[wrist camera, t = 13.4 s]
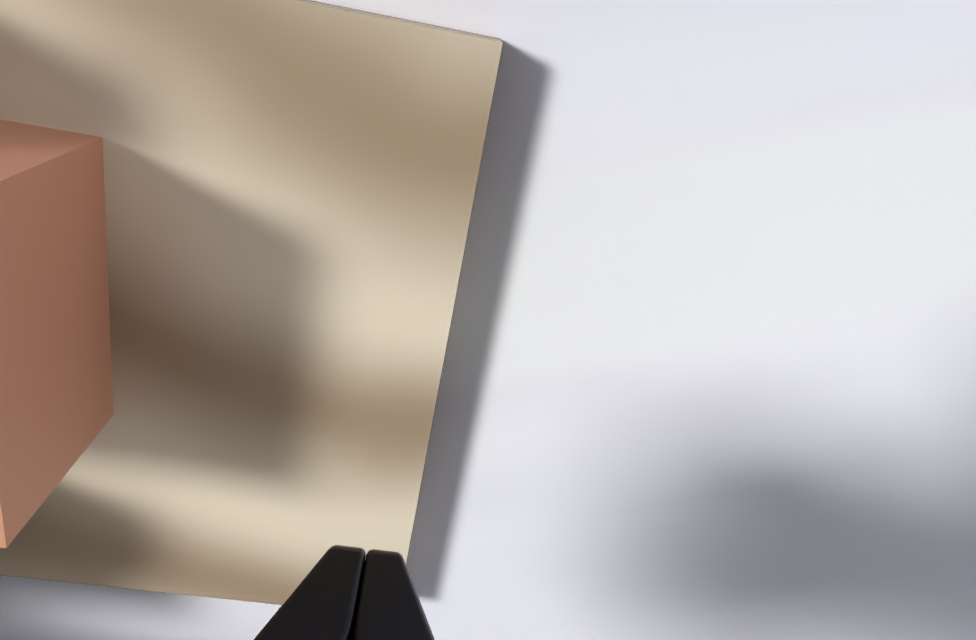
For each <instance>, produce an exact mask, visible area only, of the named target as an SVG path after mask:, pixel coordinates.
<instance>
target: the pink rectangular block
mask: <svg viewBox="0 0 976 640" xmlns="http://www.w3.org/2000/svg"><path fill="white" fill-rule="evenodd" d="M113 415H114V413H113V388H112V363H111V338H110V313H109V288H108V264H107V239H106V214H105V189H104V164H103V139H102V137H98V136H92V135H87V134H81V133H75V132H69V131H64V130H58V129H52V128H47V127H41V126H35V125H30V124H24V123H18V122H12V121H7V120H1V119H0V548H7V547H8V546H9V544H10V543H11V542H12V541H13V539H14V538H15V537H16V536H17V534H18V533H19V532H20V531H21V529H22V528H23V527H24V526H25V525H26V523H27V522H28V521H29V520H30V518H31V517H32V516H33V515H34V513H35V512H36V511H37V510H38V508H39V507H40V506H41V505H42V503H43V502H44V501H45V500H46V498H47V497H48V496H49V495H50V493H51V492H52V491H53V490H54V488H55V487H56V486H57V485H58V483H59V482H60V481H61V480H62V478H63V477H64V476H65V475H66V473H67V472H68V471H69V470H70V468H71V467H72V466H73V465H74V463H75V462H76V461H77V460H78V458H79V457H80V456H81V455H82V453H83V452H84V451H85V450H86V448H87V447H88V446H89V445H90V443H91V442H92V441H93V440H94V438H95V437H96V436H97V435H98V433H99V432H100V431H101V430H102V428H103V427H104V426H105V425H106V423H107V422H108V421H109V420H110V418H111V417H112V416H113Z"/></svg>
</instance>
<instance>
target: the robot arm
mask: <svg viewBox="0 0 976 640" xmlns="http://www.w3.org/2000/svg"><path fill="white" fill-rule="evenodd" d="M365 558H366V559H365ZM254 640H435V639H434V637H433V634H432V631H431V629H430V626H429V624H428V621H427V618H426V616H425V613H424V610H423V608H422V605H421V603H420V600H419V597H418V595H417V592H416V589H415V587H414V584H413V582H412V579H411V576H410V574H409V571H408V568H407V566H406V563H405V561H404V558H403V556H402V555H401V554H400V553H399V552H393V551H384V550H376V549H371V550H369V551H368V552H367V554H366V552H365V550H364V549H363V548H359V547H350V546H341V545H334V546H332V547H330V548H329V549H328V550H327V552H326V553H325V554H324V555H323V556H322V558H321V559H320V560H319V561H318V562H317V564H316V565H315V566H314V567H313V568H312V570H311V571H310V572H309V573H308V575H307V576H306V577H305V578H304V579H303V581H302V582H301V583H300V584H299V585H298V587H297V588H296V589H295V590H294V591H293V593H292V594H291V595H290V596H289V598H288V599H287V600H286V601H285V602H284V604H283V605H282V606H281V607H280V608H279V610H278V611H277V612H276V613H275V615H274V616H273V617H272V618H271V619H270V621H269V622H268V623H267V624H266V625H265V627H264V628H263V629H262V630H261V631H260V633H259V634H258V635H257V636H256V638H255V639H254Z"/></svg>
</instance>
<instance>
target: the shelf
mask: <svg viewBox="0 0 976 640" xmlns="http://www.w3.org/2000/svg"><path fill="white" fill-rule="evenodd" d="M502 44H503V42H502V41H501V40H500V39H499V38H494V37H489V36H484V35H479V34H474V33H469V32H464V31H460V30H455V29H450V28H445V27H440V26H435V25H430V24H425V23H420V22H415V21H410V20H405V19H400V18H395V17H390V16H385V15H381V14H376V13H371V12H366V11H361V10H356V9H351V8H346V7H341V6H336V5H331V4H326V3H321V2H316V1H311V0H0V119H1V120H7V121H12V122H18V123H24V124H30V125H35V126H41V127H47V128H52V129H58V130H64V131H69V132H75V133H81V134H87V135H92V136H98V137H102V139H103V164H104V189H105V214H106V239H107V264H108V288H109V313H110V338H111V363H112V388H113V413H114V415H113V416H112V417H111V418H110V420H109V421H108V422H107V423H106V425H105V426H104V427H103V428H102V430H101V431H100V432H99V433H98V435H97V436H96V437H95V438H94V440H93V441H92V442H91V443H90V445H89V446H88V447H87V448H86V450H85V451H84V452H83V453H82V455H81V456H80V457H79V458H78V460H77V461H76V462H75V463H74V465H73V466H72V467H71V468H70V470H69V471H68V472H67V473H66V475H65V476H64V477H63V478H62V480H61V481H60V482H59V483H58V485H57V486H56V487H55V488H54V490H53V491H52V492H51V493H50V495H49V496H48V497H47V498H46V500H45V501H44V502H43V503H42V505H41V506H40V507H39V508H38V510H37V511H36V512H35V513H34V515H33V516H32V517H31V518H30V520H29V521H28V522H27V523H26V525H25V526H24V527H23V528H22V529H21V531H20V532H19V533H18V534H17V536H16V537H15V538H14V539H13V541H12V542H11V543H10V544H9V546H8V547H7V548H0V575H5V576H14V577H23V578H33V579H42V580H52V581H61V582H71V583H80V584H90V585H99V586H108V587H118V588H127V589H137V590H146V591H156V592H165V593H175V594H184V595H193V596H203V597H212V598H222V599H231V600H241V601H250V602H260V603H269V604H279V605H283V604H284V602H285V601H286V600H287V599H288V598H289V596H290V595H291V594H292V593H293V591H294V590H295V589H296V588H297V587H298V585H299V584H300V583H301V582H302V581H303V579H304V578H305V577H306V576H307V575H308V573H309V572H310V571H311V570H312V568H313V567H314V566H315V565H316V564H317V562H318V561H319V560H320V559H321V558H322V556H323V555H324V554H325V553H326V552H327V550H328V549H329V548H330V547H332V546H334V545H341V546H350V547H359V548H363V549H364V550H365V552H366V554H367V552H368V551H369V550H371V549H376V550H384V551H393V552H399V553H400V554H401V555H402V556H403V558H404V561H405V563H406V561H407V556H408V550H409V545H410V540H411V534H412V529H413V524H414V518H415V513H416V507H417V502H418V497H419V491H420V486H421V480H422V475H423V470H424V464H425V459H426V454H427V448H428V443H429V437H430V432H431V427H432V421H433V416H434V411H435V405H436V400H437V394H438V389H439V384H440V378H441V373H442V367H443V362H444V357H445V351H446V346H447V341H448V335H449V330H450V324H451V319H452V314H453V308H454V303H455V297H456V292H457V287H458V281H459V276H460V271H461V265H462V260H463V254H464V249H465V244H466V238H467V233H468V227H469V222H470V217H471V211H472V206H473V201H474V195H475V190H476V184H477V179H478V174H479V168H480V163H481V157H482V152H483V147H484V141H485V136H486V131H487V125H488V120H489V114H490V109H491V104H492V98H493V93H494V88H495V82H496V77H497V71H498V66H499V61H500V55H501V50H502ZM365 559H366V558H365Z"/></svg>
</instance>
